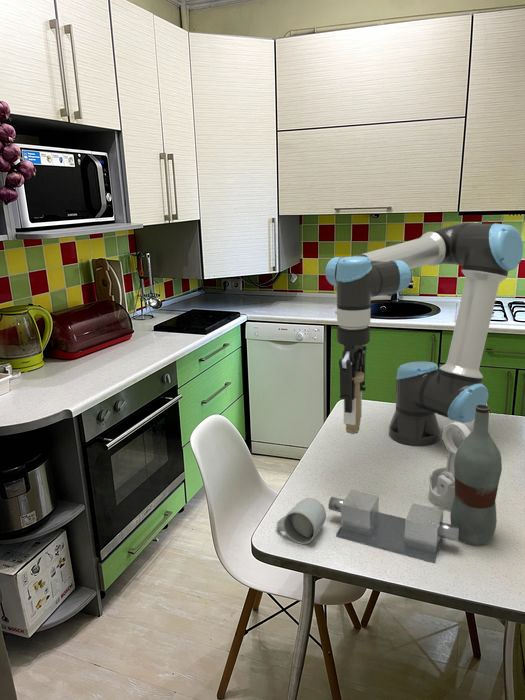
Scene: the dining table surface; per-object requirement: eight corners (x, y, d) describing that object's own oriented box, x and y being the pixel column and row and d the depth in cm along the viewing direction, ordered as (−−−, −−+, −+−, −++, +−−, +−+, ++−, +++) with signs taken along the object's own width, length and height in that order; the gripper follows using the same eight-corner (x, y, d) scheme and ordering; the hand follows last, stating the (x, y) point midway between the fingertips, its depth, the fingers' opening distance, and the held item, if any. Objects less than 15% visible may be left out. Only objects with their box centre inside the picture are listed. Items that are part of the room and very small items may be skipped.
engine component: (451, 485, 135) (420, 494, 131) (457, 411, 130) (424, 418, 126) (484, 506, 126) (451, 517, 122) (491, 427, 120) (457, 436, 116)
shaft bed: (339, 505, 128) (339, 480, 126) (461, 534, 116) (463, 508, 114) (321, 532, 118) (321, 506, 116) (452, 568, 105) (455, 539, 104)
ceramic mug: (328, 527, 120) (327, 497, 118) (315, 548, 113) (314, 516, 111) (285, 517, 125) (284, 488, 123) (270, 536, 118) (269, 506, 116)
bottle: (448, 543, 113) (458, 412, 105) (449, 519, 121) (457, 396, 113) (496, 551, 110) (510, 417, 102) (493, 525, 118) (505, 400, 110)
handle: (356, 425, 132) (356, 368, 128) (367, 435, 126) (368, 376, 122) (338, 427, 131) (338, 370, 127) (348, 438, 125) (348, 378, 121)
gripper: (349, 316, 130) (349, 405, 136) (324, 333, 115) (325, 431, 122) (379, 318, 126) (377, 409, 133) (357, 336, 112) (356, 436, 119)
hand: (352, 419), depth 127 cm, fingers closed on handle, 4 cm apart
